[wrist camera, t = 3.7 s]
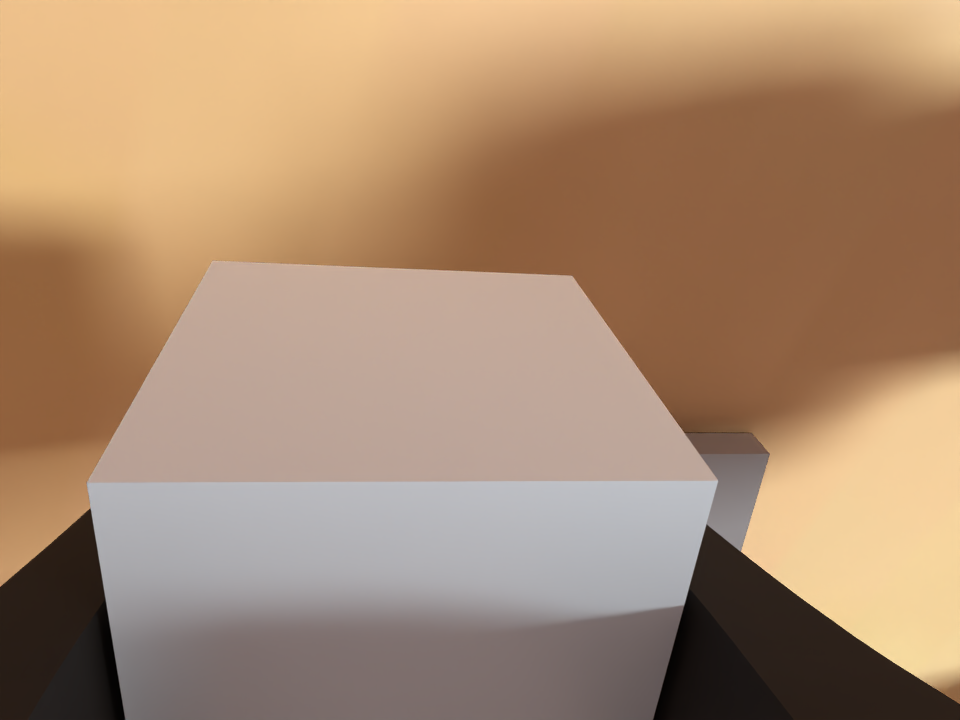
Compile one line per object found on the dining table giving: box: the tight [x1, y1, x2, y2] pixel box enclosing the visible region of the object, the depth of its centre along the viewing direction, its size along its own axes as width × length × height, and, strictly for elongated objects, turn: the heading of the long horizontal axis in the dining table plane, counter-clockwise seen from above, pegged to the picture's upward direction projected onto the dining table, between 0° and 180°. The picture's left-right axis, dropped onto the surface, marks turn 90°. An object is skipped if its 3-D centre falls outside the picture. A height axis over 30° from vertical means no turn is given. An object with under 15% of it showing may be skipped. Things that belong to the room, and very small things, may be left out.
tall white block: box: [87, 261, 718, 720], centre depth 8 cm, size 4×6×4 cm
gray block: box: [685, 433, 770, 552], centre depth 22 cm, size 7×14×1 cm, turn 175°
